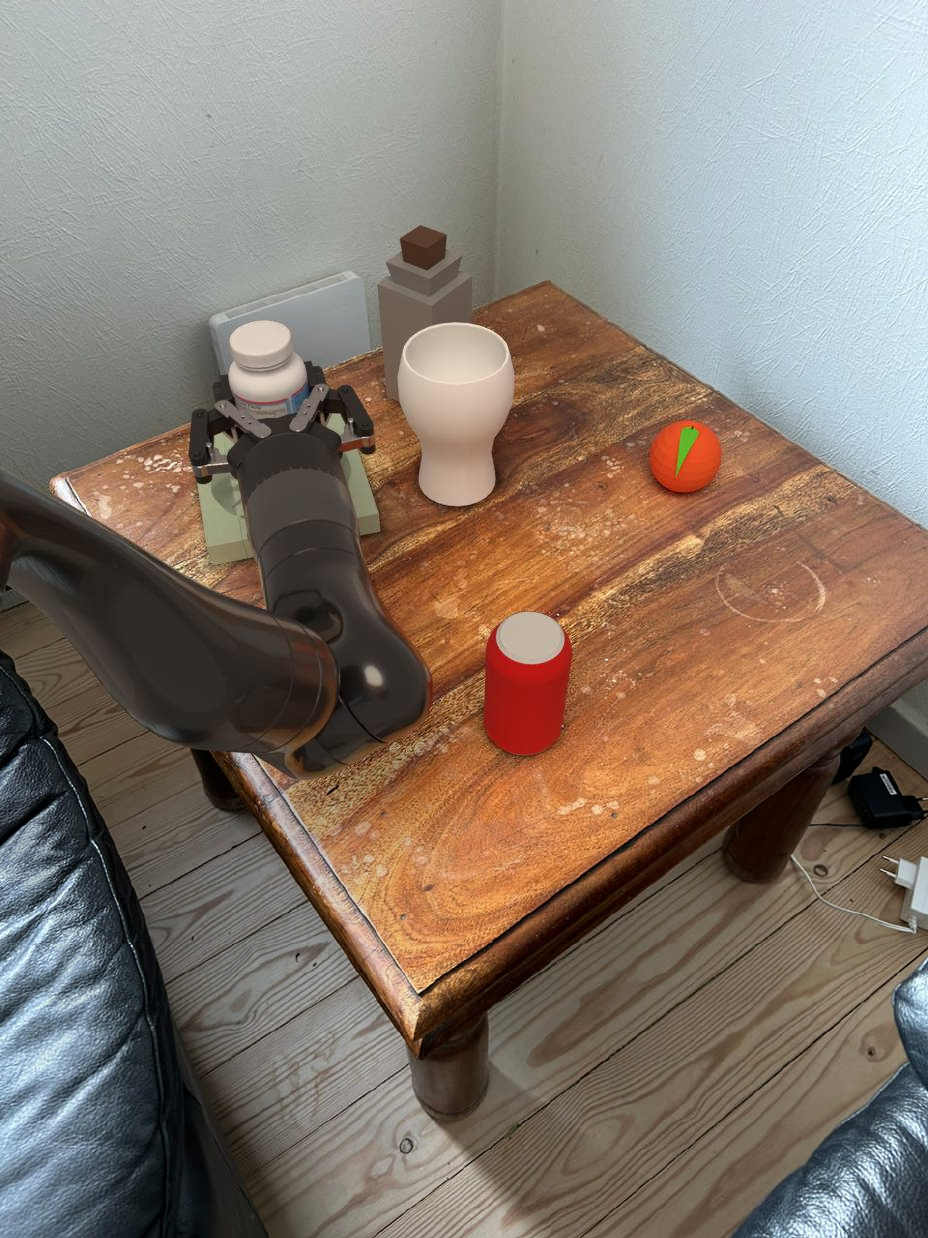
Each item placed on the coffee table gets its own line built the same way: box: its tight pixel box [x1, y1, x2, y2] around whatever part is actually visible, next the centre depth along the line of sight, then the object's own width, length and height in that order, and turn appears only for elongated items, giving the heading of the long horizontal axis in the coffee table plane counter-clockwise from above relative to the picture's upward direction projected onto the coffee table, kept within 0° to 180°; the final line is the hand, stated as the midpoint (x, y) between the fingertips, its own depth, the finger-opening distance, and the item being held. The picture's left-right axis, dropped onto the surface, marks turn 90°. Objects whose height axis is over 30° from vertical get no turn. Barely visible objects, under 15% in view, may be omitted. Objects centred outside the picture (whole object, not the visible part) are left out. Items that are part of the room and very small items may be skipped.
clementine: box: [648, 420, 723, 493], centre depth 89 cm, size 8×7×7 cm
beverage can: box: [483, 610, 573, 756], centre depth 69 cm, size 6×6×12 cm
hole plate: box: [196, 414, 381, 566], centre depth 91 cm, size 16×16×2 cm
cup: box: [397, 322, 516, 507], centre depth 87 cm, size 11×11×15 cm
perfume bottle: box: [376, 224, 473, 403], centre depth 95 cm, size 7×7×18 cm
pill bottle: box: [228, 320, 310, 420], centre depth 73 cm, size 6×6×11 cm
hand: (267, 377), depth 74 cm, fingers closed on pill bottle, 6 cm apart
